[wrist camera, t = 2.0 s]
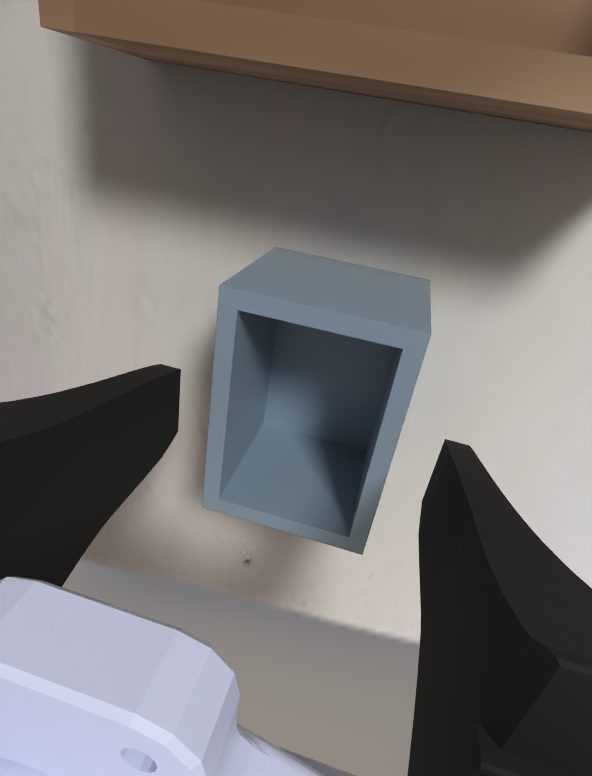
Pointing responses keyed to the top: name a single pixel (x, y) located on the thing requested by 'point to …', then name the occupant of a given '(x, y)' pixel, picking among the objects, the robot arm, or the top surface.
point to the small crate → (311, 392)
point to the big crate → (368, 47)
